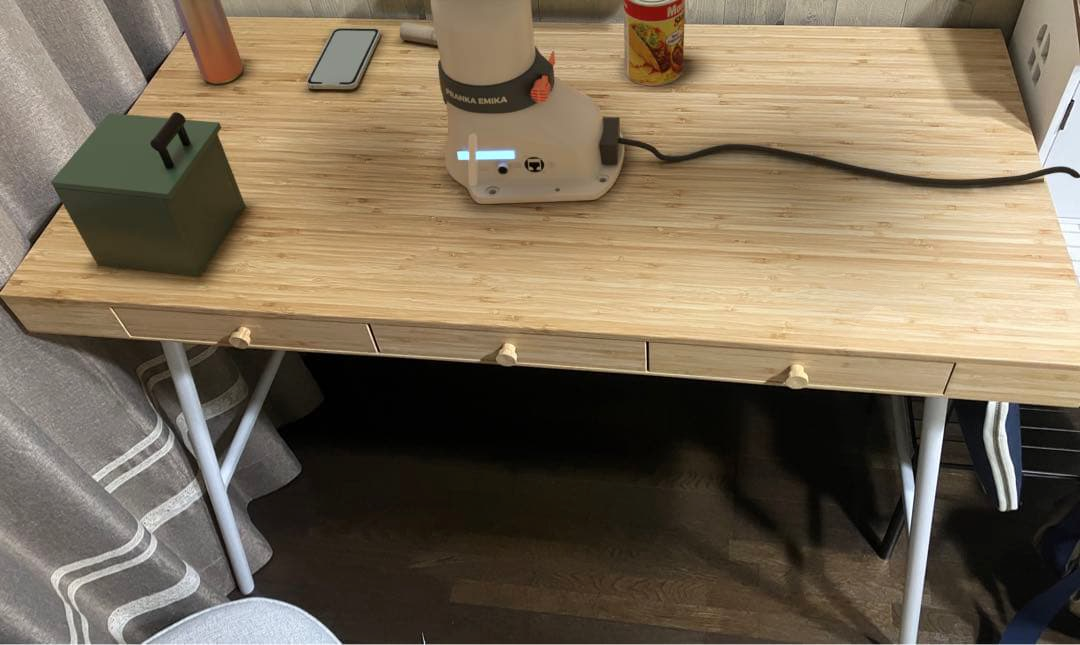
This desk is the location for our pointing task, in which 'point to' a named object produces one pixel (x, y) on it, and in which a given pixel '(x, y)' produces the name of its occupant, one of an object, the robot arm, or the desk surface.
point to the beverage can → (210, 39)
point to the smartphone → (343, 58)
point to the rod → (418, 33)
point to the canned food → (654, 40)
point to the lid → (137, 155)
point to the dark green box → (161, 220)
